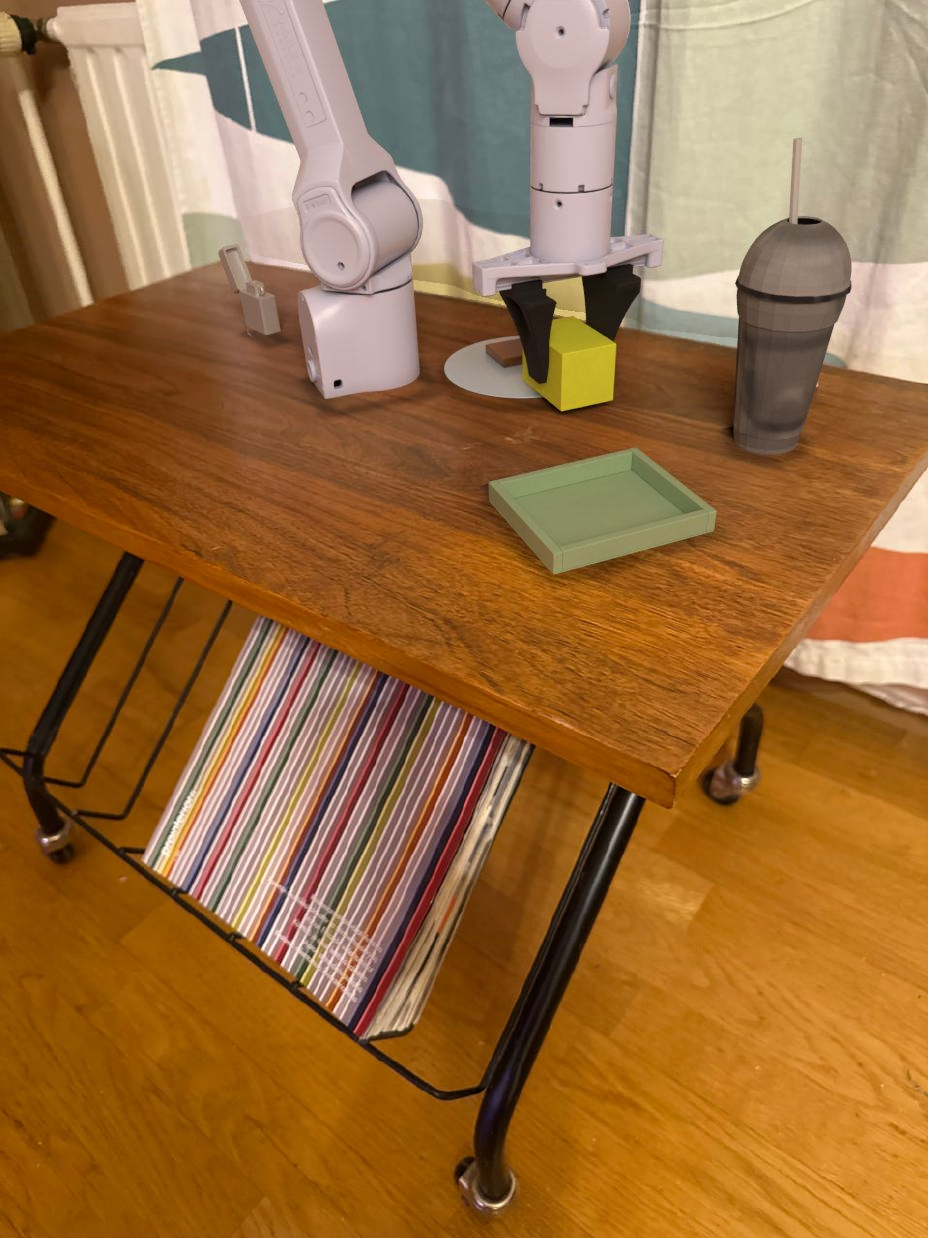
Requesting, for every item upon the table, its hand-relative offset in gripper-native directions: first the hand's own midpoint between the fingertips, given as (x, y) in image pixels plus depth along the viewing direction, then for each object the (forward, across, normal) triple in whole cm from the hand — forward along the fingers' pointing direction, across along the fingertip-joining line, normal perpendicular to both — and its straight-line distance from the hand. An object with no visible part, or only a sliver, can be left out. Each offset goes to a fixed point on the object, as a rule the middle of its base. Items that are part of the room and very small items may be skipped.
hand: (566, 372), depth 70 cm
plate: (+3, 0, +8) cm, 8 cm away
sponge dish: (+3, -6, -16) cm, 18 cm away
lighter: (+3, -19, +30) cm, 35 cm away
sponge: (+1, 0, 0) cm, 1 cm away
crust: (+2, 0, +10) cm, 10 cm away
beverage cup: (+3, +10, -12) cm, 16 cm away
